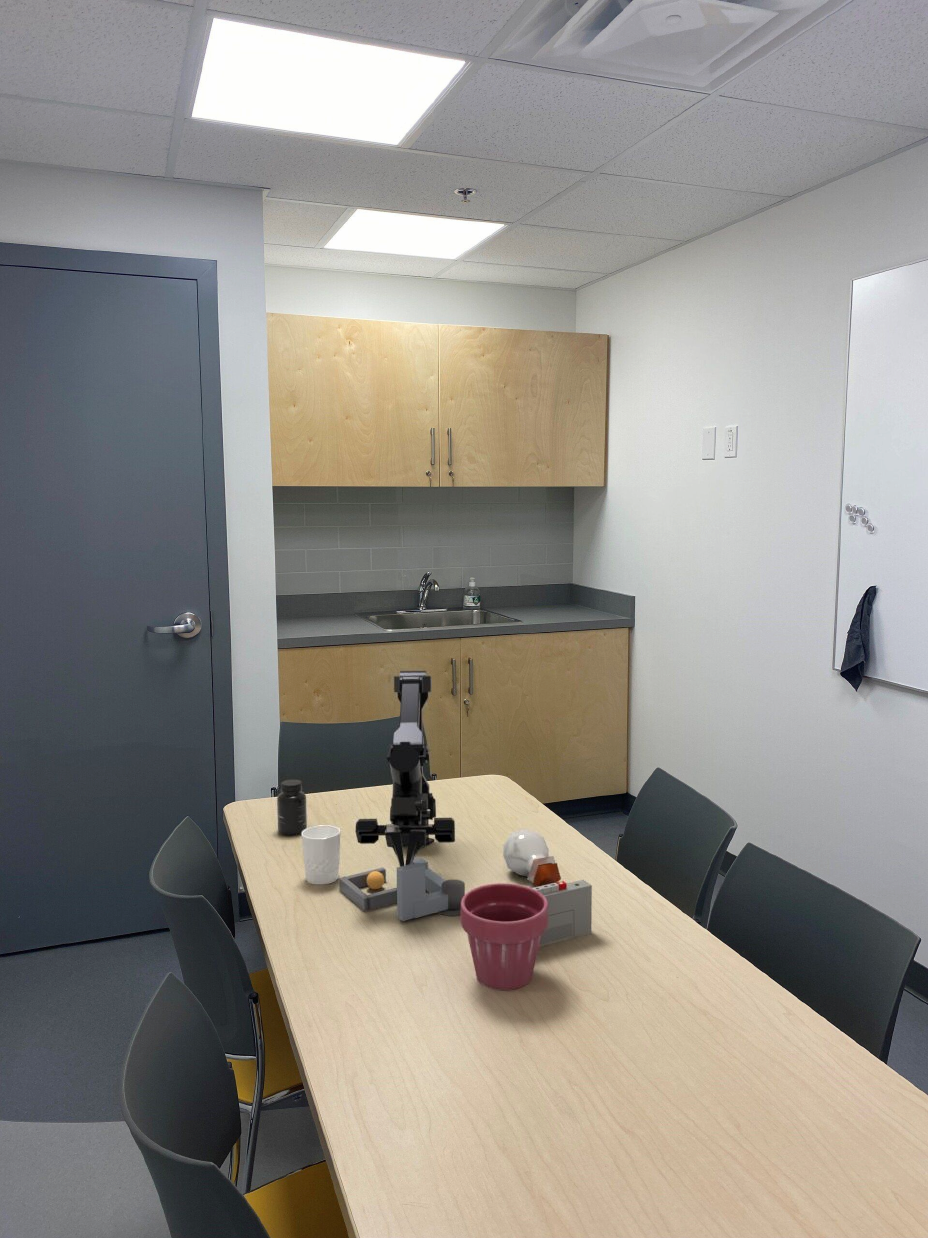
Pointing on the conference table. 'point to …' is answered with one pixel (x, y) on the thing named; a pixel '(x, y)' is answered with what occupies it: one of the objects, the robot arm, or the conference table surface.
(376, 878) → the ball
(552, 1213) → the conference table surface
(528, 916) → the plant pot
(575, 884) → the cassette player
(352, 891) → the pocket
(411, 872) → the lever
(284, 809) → the supplement bottle
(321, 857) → the white cup
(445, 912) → the pivot plate
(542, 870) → the potion bottle
